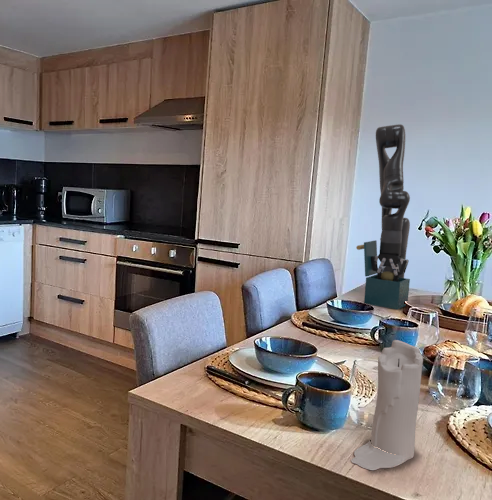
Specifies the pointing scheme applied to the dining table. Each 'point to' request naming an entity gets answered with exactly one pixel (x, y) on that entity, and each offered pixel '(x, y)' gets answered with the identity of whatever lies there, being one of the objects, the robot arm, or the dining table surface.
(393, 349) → the candle
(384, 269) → the robot arm
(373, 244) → the bin lid
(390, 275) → the cork
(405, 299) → the bin
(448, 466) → the dining table surface
